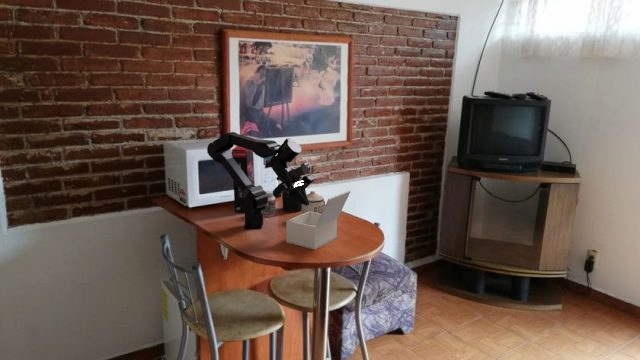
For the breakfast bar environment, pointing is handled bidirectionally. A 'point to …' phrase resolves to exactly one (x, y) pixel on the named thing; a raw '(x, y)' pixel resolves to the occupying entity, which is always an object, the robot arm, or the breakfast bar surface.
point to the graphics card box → (247, 166)
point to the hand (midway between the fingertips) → (307, 205)
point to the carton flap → (333, 208)
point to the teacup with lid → (314, 203)
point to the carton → (310, 231)
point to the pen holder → (290, 203)
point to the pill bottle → (269, 205)
